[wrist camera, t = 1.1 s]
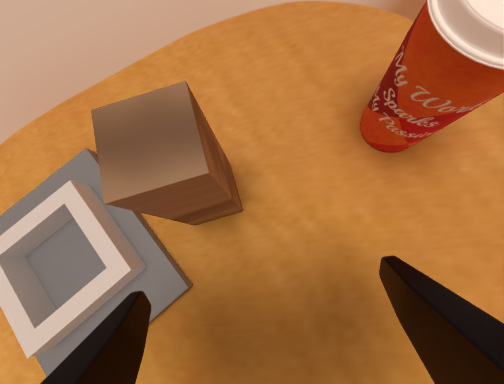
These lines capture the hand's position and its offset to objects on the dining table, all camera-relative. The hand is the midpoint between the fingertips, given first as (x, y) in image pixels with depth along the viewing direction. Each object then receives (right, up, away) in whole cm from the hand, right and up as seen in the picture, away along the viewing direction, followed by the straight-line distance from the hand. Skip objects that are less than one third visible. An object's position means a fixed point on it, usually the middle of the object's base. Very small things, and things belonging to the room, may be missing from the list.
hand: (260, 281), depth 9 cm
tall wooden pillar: (-4, +3, +15) cm, 16 cm away
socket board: (-17, -3, +15) cm, 23 cm away
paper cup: (+13, +10, +15) cm, 23 cm away
